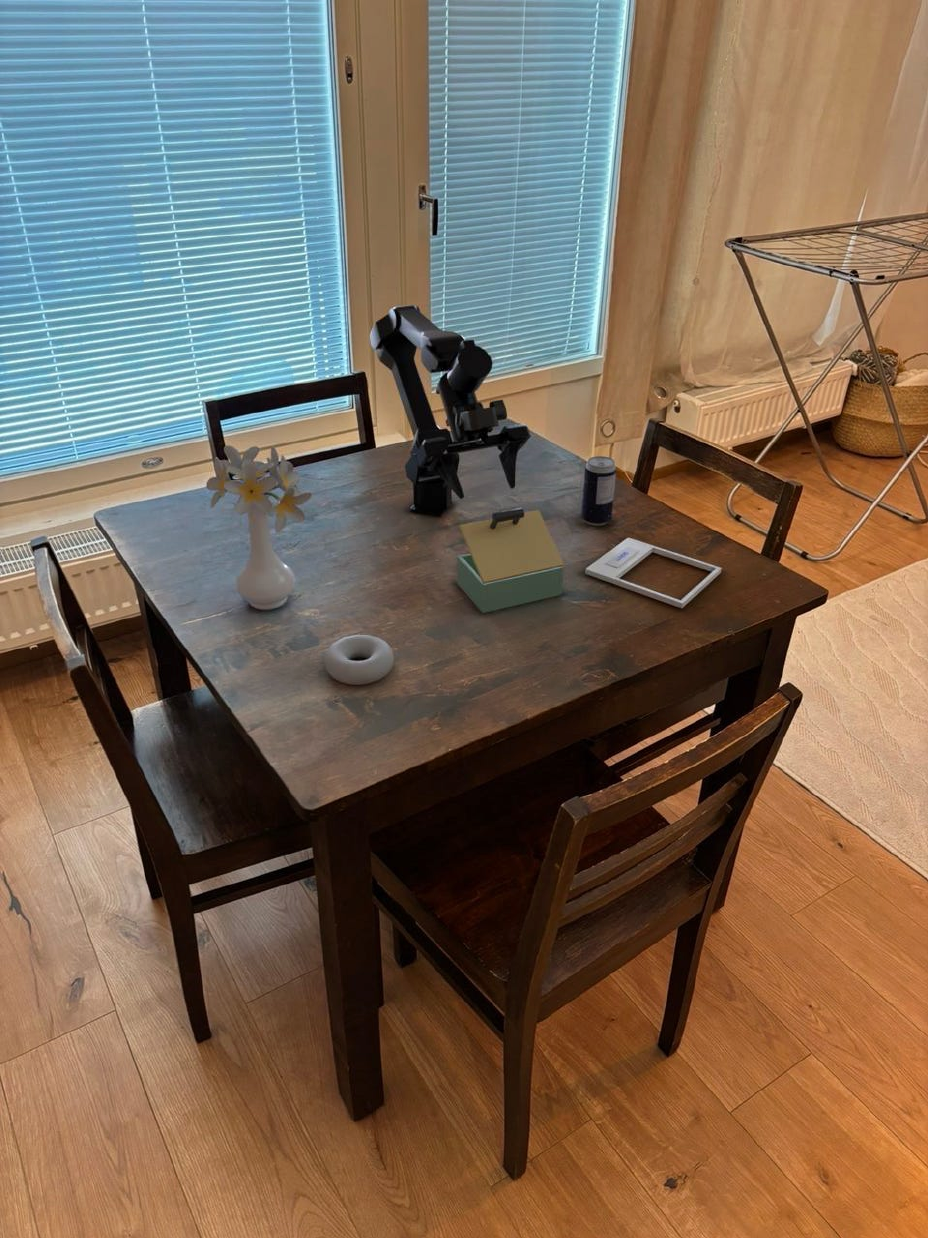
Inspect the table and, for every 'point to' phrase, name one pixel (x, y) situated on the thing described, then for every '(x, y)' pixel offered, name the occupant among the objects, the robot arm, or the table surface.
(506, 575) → the lunchbox lid
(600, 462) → the beverage can
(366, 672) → the donut
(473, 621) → the table surface
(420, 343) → the robot arm
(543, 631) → the table surface
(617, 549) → the photo frame
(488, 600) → the lunchbox
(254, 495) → the flower vase
